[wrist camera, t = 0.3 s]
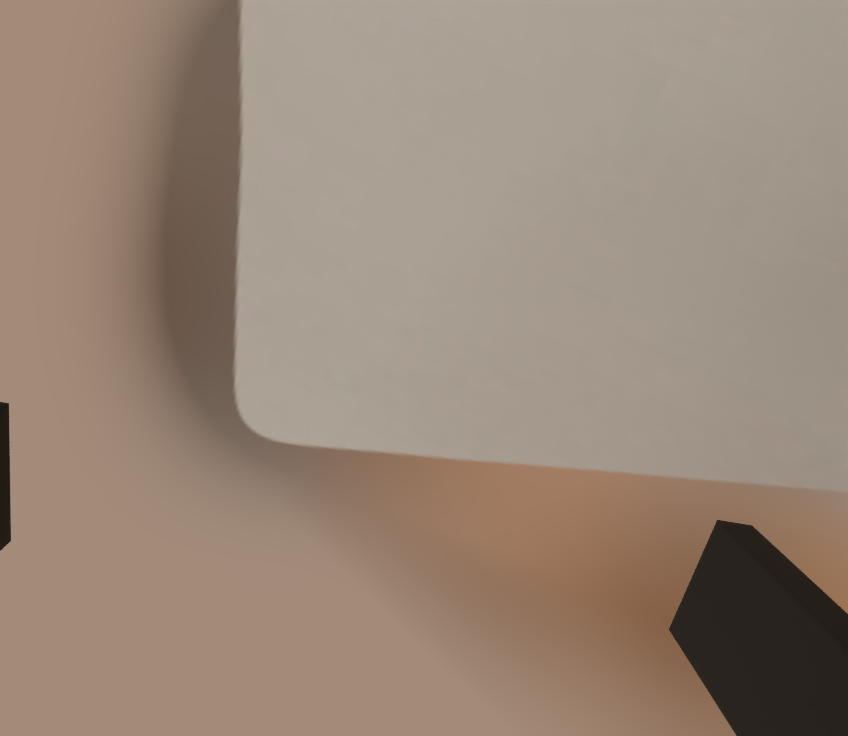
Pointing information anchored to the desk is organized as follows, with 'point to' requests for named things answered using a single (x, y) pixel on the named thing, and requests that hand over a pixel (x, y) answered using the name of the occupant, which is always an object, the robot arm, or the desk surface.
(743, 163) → the desk surface
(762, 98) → the desk surface
